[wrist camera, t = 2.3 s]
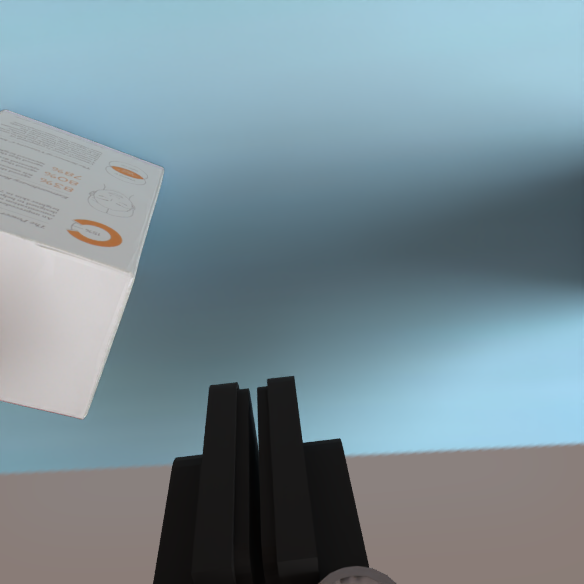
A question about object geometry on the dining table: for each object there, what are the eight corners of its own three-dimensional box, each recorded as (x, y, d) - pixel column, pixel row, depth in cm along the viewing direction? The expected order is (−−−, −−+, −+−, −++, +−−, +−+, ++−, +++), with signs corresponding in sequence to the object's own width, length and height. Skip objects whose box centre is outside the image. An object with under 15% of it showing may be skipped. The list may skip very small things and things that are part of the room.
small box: (-20, 223, 28) (-181, 366, 17) (3, 105, 26) (-165, 177, 14) (134, 271, 31) (85, 425, 19) (168, 167, 28) (137, 272, 17)
